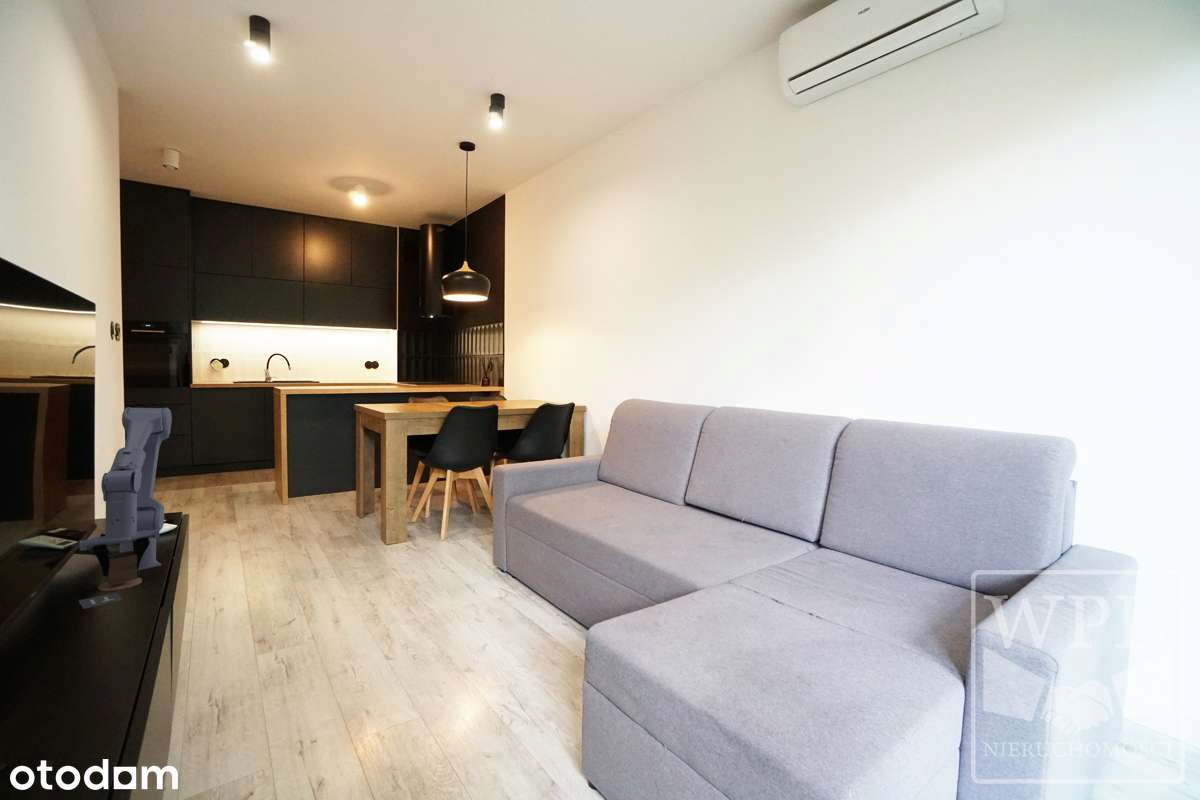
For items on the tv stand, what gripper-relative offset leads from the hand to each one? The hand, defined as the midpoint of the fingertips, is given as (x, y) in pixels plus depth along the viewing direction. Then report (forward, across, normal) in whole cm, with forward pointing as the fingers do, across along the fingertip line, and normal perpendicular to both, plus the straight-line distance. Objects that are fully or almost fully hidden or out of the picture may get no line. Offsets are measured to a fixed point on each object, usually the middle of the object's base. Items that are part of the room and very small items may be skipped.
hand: (120, 571), depth 129 cm
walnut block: (+2, 0, 0) cm, 2 cm away
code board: (+3, -5, -8) cm, 10 cm away
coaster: (+3, 0, 0) cm, 3 cm away
